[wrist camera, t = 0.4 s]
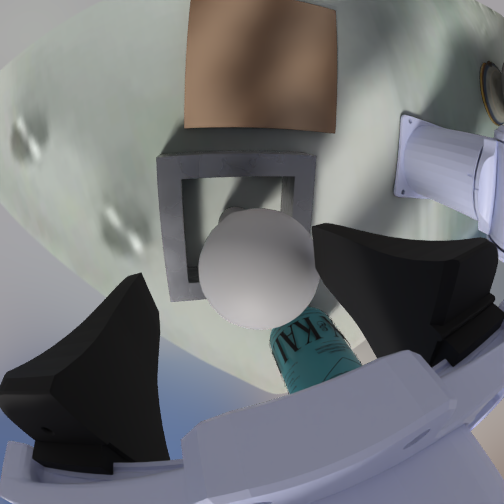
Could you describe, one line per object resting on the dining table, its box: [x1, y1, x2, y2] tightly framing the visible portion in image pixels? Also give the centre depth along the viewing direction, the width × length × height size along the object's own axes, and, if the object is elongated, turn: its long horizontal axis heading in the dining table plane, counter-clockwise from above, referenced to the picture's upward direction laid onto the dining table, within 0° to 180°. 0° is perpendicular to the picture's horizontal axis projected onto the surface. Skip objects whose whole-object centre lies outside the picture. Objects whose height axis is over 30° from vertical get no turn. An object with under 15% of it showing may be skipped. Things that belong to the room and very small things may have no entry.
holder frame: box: [156, 151, 316, 302], centre depth 20 cm, size 10×10×2 cm
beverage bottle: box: [269, 307, 362, 394], centre depth 18 cm, size 6×7×20 cm
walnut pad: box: [184, 0, 337, 133], centre depth 16 cm, size 11×11×1 cm
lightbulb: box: [198, 207, 320, 330], centre depth 16 cm, size 6×6×11 cm
